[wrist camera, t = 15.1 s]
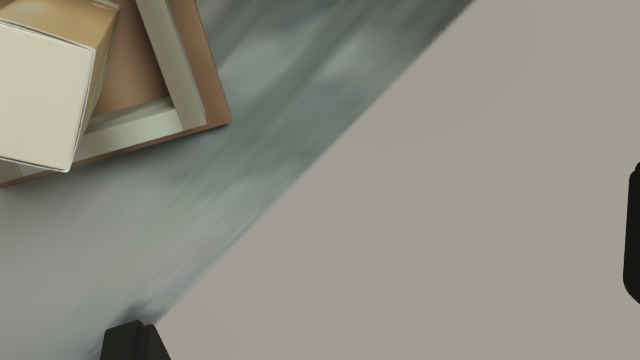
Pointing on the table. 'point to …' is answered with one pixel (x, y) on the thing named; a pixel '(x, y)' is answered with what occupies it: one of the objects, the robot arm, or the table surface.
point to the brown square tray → (146, 86)
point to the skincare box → (51, 76)
